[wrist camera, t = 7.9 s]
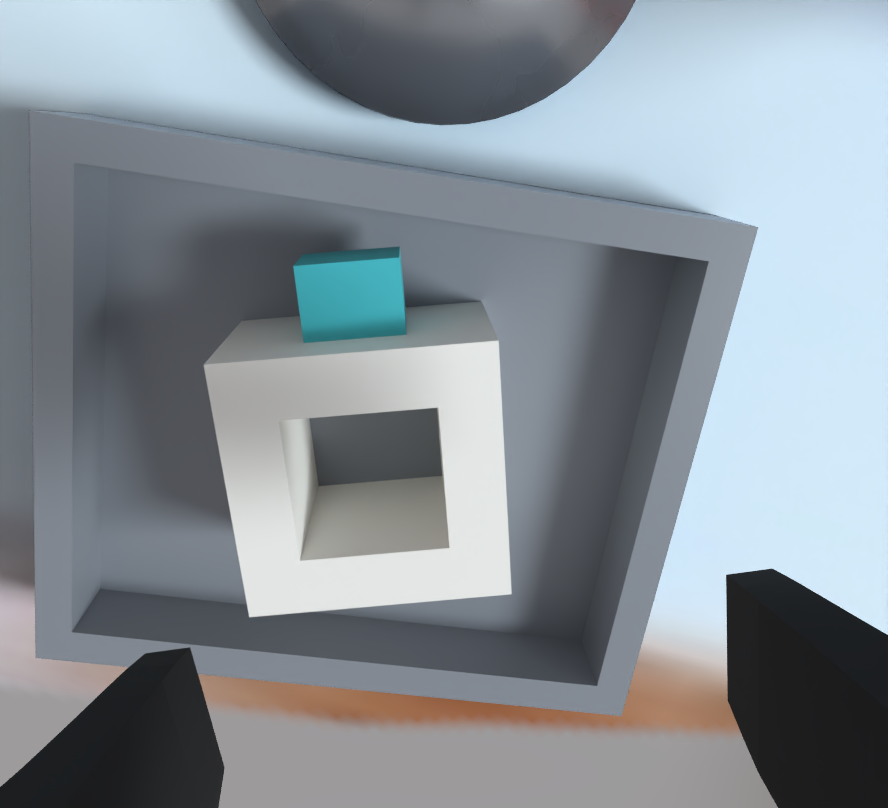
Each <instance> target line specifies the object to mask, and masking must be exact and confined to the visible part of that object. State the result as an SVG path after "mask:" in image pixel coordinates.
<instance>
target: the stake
mask: <svg viewBox="0 0 888 808" xmlns="http://www.w3.org/2000/svg"><path fill="white" fill-rule="evenodd" d="M256 2H257V4H258V6H259V8H260V9H261V11H262V12H263V14H264V15H265V17H266V18H267V20H268V22H269V23H270V25H271V26H272V28H273V29H274V31H275V32H276V34H277V35H278V36H279V37H280V38H281V40H282V41H283V42H284V43H285V45H286V46H287V47H288V48H289V49H290V51H291V52H292V53H293V54H294V55H295V56H296V57H297V58H298V59H299V60H300V61H301V62H302V63H303V64H304V65H305V66H306V67H307V68H308V69H309V70H310V71H311V72H312V73H314V74H315V75H316V76H317V77H318V78H320V79H321V80H322V81H324V82H325V83H326V84H328V85H329V86H330V87H332V88H333V89H335V90H336V91H337V92H339V93H340V94H342V95H344V96H346V97H348V98H349V99H351V100H353V101H355V102H357V103H359V104H360V105H362V106H364V107H366V108H369V109H371V110H374V111H376V112H379V113H382V114H384V115H387V116H389V117H393V118H397V119H401V120H406V121H410V122H414V123H423V124H434V125H455V124H470V123H475V122H481V121H486V120H492V119H496V118H499V117H502V116H505V115H508V114H511V113H514V112H517V111H520V110H522V109H524V108H526V107H528V106H530V105H532V104H534V103H537V102H539V101H541V100H543V99H545V98H546V97H548V96H549V95H551V94H552V93H554V92H555V91H557V90H558V89H560V88H561V87H563V86H564V85H566V84H567V83H569V82H570V81H571V80H572V79H573V78H574V77H575V76H577V75H578V74H579V73H580V72H581V71H582V70H584V69H585V68H586V67H587V66H588V65H589V64H590V63H591V62H592V61H593V60H594V59H595V58H596V56H597V55H598V54H599V53H600V52H601V51H602V50H603V49H604V48H605V46H606V45H607V44H608V43H609V42H610V40H611V39H612V37H613V36H614V35H615V33H616V32H617V30H618V29H619V27H620V26H621V25H622V23H623V22H624V20H625V19H626V17H627V15H628V13H629V12H630V10H631V8H632V6H633V4H634V2H635V0H256Z"/></svg>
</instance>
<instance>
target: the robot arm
mask: <svg viewBox="0 0 888 808" xmlns="http://www.w3.org/2000/svg"><path fill="white" fill-rule="evenodd" d="M726 587H727V675H728V702H729V704H730V707H731V709H732V712H733V714H734V717H735V719H736V721H737V724H738V726H739V729H740V731H741V734H742V736H743V739H744V741H745V743H746V745H747V748H748V750H749V752H750V754H751V757H752V759H753V761H754V764H755V766H756V768H757V771H758V772H759V774H760V776H761V778H762V780H763V782H764V783H765V785H766V787H767V789H768V791H769V792H770V794H771V796H772V798H773V799H774V801H775V803H776V805H777V806H778V808H888V635H887V634H885V633H883V632H881V631H880V630H878V629H876V628H874V627H873V626H871V625H869V624H868V623H866V622H864V621H862V620H861V619H859V618H857V617H856V616H854V615H852V614H850V613H849V612H847V611H845V610H844V609H842V608H840V607H839V606H837V605H835V604H833V603H832V602H830V601H828V600H827V599H825V598H823V597H822V596H820V595H818V594H816V593H815V592H813V591H811V590H810V589H808V588H806V587H805V586H803V585H801V584H799V583H798V582H796V581H794V580H792V579H790V578H789V577H787V576H785V575H783V574H781V573H779V572H777V571H776V570H774V569H767V570H759V571H752V572H744V573H737V574H730V575H726ZM223 774H224V765H223V761H222V757H221V754H220V750H219V747H218V744H217V740H216V736H215V733H214V729H213V726H212V722H211V719H210V715H209V712H208V708H207V705H206V701H205V698H204V694H203V691H202V687H201V684H200V680H199V677H198V673H197V670H196V666H195V662H194V659H193V655H192V652H191V648H190V647H188V648H181V649H174V650H166V651H159V652H151V653H145V654H144V655H143V656H141V657H140V658H139V659H138V660H137V661H136V662H134V663H133V664H132V665H131V666H130V667H129V668H128V669H126V670H125V671H124V672H123V673H122V674H121V675H120V676H119V677H118V678H117V679H116V680H115V681H114V682H113V683H111V684H110V685H109V686H108V687H107V688H106V689H105V690H104V691H103V692H102V693H101V694H100V695H99V696H98V697H97V698H96V699H95V700H94V701H93V702H92V703H90V704H89V705H88V706H87V707H86V708H85V709H84V710H83V711H82V712H81V713H80V714H79V715H78V716H77V717H76V718H75V719H74V720H73V721H72V722H71V723H70V724H68V725H67V726H66V727H65V728H64V729H63V730H62V731H61V732H60V733H59V734H58V735H57V736H56V737H55V738H54V739H53V740H51V741H50V742H49V743H48V744H47V745H46V746H45V747H44V748H43V749H42V750H41V751H40V752H39V753H38V754H37V755H36V756H35V757H34V758H32V759H31V760H30V761H29V762H28V763H27V764H26V765H25V766H24V767H23V768H22V769H20V770H19V771H18V772H17V773H16V774H15V775H14V776H13V777H12V778H10V779H9V780H8V781H7V782H6V783H5V784H3V785H2V786H1V787H0V808H218V806H219V799H220V793H221V787H222V780H223Z"/></svg>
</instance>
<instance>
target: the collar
mask: <svg viewBox="0 0 888 808" xmlns="http://www.w3.org/2000/svg"><path fill="white" fill-rule="evenodd" d="M293 268H294V276H295V283H296V290H297V298H298V305H299V312H300V316H294V317H282V318H269V319H257V320H245V321H241V322H240V323H239V324H238V326H237V327H236V328H235V329H234V330H233V331H232V332H231V334H230V335H229V336H228V337H227V338H226V339H225V341H224V342H223V343H222V344H221V345H220V346H219V347H218V349H217V350H216V351H215V352H214V353H213V354H212V356H211V357H210V358H209V359H208V360H207V361H206V362H205V364H204V370H205V376H206V381H207V387H208V392H209V398H210V403H211V409H212V414H213V420H214V425H215V431H216V436H217V442H218V447H219V453H220V458H221V464H222V469H223V475H224V480H225V486H226V492H227V497H228V503H229V508H230V514H231V519H232V525H233V530H234V536H235V541H236V547H237V552H238V558H239V563H240V569H241V574H242V580H243V585H244V591H245V597H246V602H247V608H248V613H249V617H258V616H269V615H281V614H292V613H304V612H315V611H326V610H338V609H349V608H361V607H372V606H384V605H395V604H406V603H418V602H429V601H441V600H452V599H464V598H475V597H486V596H498V595H509V594H512V591H511V571H510V552H509V532H508V513H507V493H506V473H505V454H504V434H503V415H502V395H501V376H500V356H499V340H498V338H497V336H496V333H495V331H494V329H493V326H492V324H491V322H490V319H489V317H488V315H487V312H486V310H485V308H484V305H483V303H482V301H479V302H467V303H455V304H442V305H430V306H417V307H405V297H404V286H403V275H402V264H401V253H400V246H399V247H386V248H374V249H361V250H349V251H336V252H324V253H311V254H303V255H302V256H301V257H300V258H299V260H298V261H297V262H296V263H295V264H294V266H293ZM427 408H437V416H438V429H439V441H440V454H441V466H442V476H433V477H421V478H410V479H398V480H386V481H374V482H362V483H351V484H339V485H327V486H319V485H318V478H317V471H316V464H315V456H314V449H313V442H312V435H311V427H310V420H309V418H318V417H330V416H342V415H354V414H367V413H379V412H391V411H403V410H415V409H427Z"/></svg>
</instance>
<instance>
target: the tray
mask: <svg viewBox="0 0 888 808" xmlns="http://www.w3.org/2000/svg"><path fill="white" fill-rule="evenodd" d="M29 144H30V227H31V310H32V394H33V477H34V560H35V643H36V658H42V659H52V660H62V661H72V662H83V663H93V664H103V665H113V666H123V667H130V666H131V665H132V664H133V663H134V662H136V661H137V660H138V659H139V658H140V657H141V656H143V655H144V654H145V653H151V652H159V651H166V650H174V649H181V648H188V647H190V648H191V652H192V655H193V659H194V662H195V666H196V670H197V673H198V674H204V675H214V676H224V677H234V678H244V679H254V680H264V681H274V682H284V683H294V684H304V685H315V686H325V687H335V688H345V689H355V690H365V691H375V692H385V693H395V694H405V695H415V696H426V697H436V698H446V699H456V700H466V701H476V702H486V703H496V704H506V705H516V706H526V707H537V708H547V709H557V710H567V711H577V712H587V713H597V714H607V715H617V716H622V712H623V709H624V705H625V701H626V698H627V694H628V691H629V687H630V684H631V680H632V676H633V673H634V669H635V666H636V662H637V659H638V655H639V651H640V648H641V644H642V641H643V637H644V633H645V630H646V626H647V623H648V619H649V616H650V612H651V608H652V605H653V601H654V598H655V594H656V591H657V587H658V583H659V580H660V576H661V573H662V569H663V566H664V562H665V558H666V555H667V551H668V548H669V544H670V541H671V537H672V533H673V530H674V526H675V523H676V519H677V515H678V512H679V508H680V505H681V501H682V498H683V494H684V490H685V487H686V483H687V480H688V476H689V473H690V469H691V465H692V462H693V458H694V455H695V451H696V448H697V444H698V440H699V437H700V433H701V430H702V426H703V423H704V419H705V415H706V412H707V408H708V405H709V401H710V397H711V394H712V390H713V387H714V383H715V380H716V376H717V372H718V369H719V365H720V362H721V358H722V355H723V351H724V347H725V344H726V340H727V337H728V333H729V330H730V326H731V322H732V319H733V315H734V312H735V308H736V304H737V301H738V297H739V294H740V290H741V287H742V283H743V279H744V276H745V272H746V269H747V265H748V262H749V258H750V254H751V251H752V247H753V244H754V240H755V237H756V233H757V229H758V227H755V226H751V225H748V224H744V223H741V222H737V221H733V220H730V219H726V218H723V217H719V216H716V215H711V214H704V213H698V212H692V211H686V210H680V209H673V208H667V207H661V206H655V205H649V204H642V203H636V202H630V201H624V200H618V199H611V198H605V197H599V196H593V195H587V194H580V193H574V192H568V191H562V190H555V189H549V188H543V187H537V186H531V185H524V184H518V183H512V182H506V181H500V180H493V179H487V178H481V177H475V176H469V175H462V174H456V173H450V172H444V171H438V170H431V169H425V168H419V167H413V166H407V165H400V164H394V163H388V162H382V161H376V160H369V159H363V158H357V157H351V156H345V155H338V154H332V153H326V152H320V151H314V150H307V149H301V148H295V147H289V146H282V145H276V144H270V143H264V142H258V141H251V140H245V139H239V138H233V137H227V136H220V135H214V134H208V133H202V132H196V131H189V130H183V129H177V128H171V127H165V126H158V125H152V124H146V123H140V122H134V121H127V120H121V119H115V118H109V117H103V116H96V115H90V114H84V113H72V112H52V111H31V110H29ZM399 246H400V253H401V264H402V275H403V286H404V297H405V307H417V306H430V305H442V304H455V303H467V302H479V301H482V303H483V305H484V308H485V310H486V312H487V315H488V317H489V319H490V322H491V324H492V326H493V329H494V331H495V333H496V336H497V338H498V340H499V356H500V376H501V395H502V415H503V434H504V454H505V473H506V493H507V513H508V532H509V552H510V571H511V591H512V594H509V595H498V596H486V597H475V598H464V599H452V600H441V601H429V602H418V603H406V604H395V605H384V606H372V607H361V608H349V609H338V610H326V611H315V612H304V613H292V614H281V615H269V616H258V617H249V613H248V608H247V602H246V597H245V591H244V585H243V580H242V574H241V569H240V563H239V558H238V552H237V547H236V541H235V536H234V530H233V525H232V519H231V514H230V508H229V503H228V497H227V492H226V486H225V480H224V475H223V469H222V464H221V458H220V453H219V447H218V442H217V436H216V431H215V425H214V420H213V414H212V409H211V403H210V398H209V392H208V387H207V381H206V376H205V370H204V364H205V362H206V361H207V360H208V359H209V358H210V357H211V356H212V354H213V353H214V352H215V351H216V350H217V349H218V347H219V346H220V345H221V344H222V343H223V342H224V341H225V339H226V338H227V337H228V336H229V335H230V334H231V332H232V331H233V330H234V329H235V328H236V327H237V326H238V324H239V323H240V322H241V321H245V320H257V319H269V318H282V317H294V316H300V312H299V305H298V298H297V290H296V283H295V276H294V268H293V266H294V264H295V263H296V262H297V261H298V260H299V258H300V257H301V256H302V255H303V254H311V253H324V252H336V251H349V250H361V249H374V248H386V247H399ZM309 420H310V427H311V435H312V442H313V449H314V456H315V464H316V471H317V478H318V485H319V486H327V485H339V484H351V483H362V482H374V481H386V480H398V479H410V478H421V477H433V476H442V466H441V454H440V441H439V429H438V416H437V408H427V409H415V410H403V411H391V412H379V413H367V414H354V415H342V416H330V417H318V418H309Z"/></svg>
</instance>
